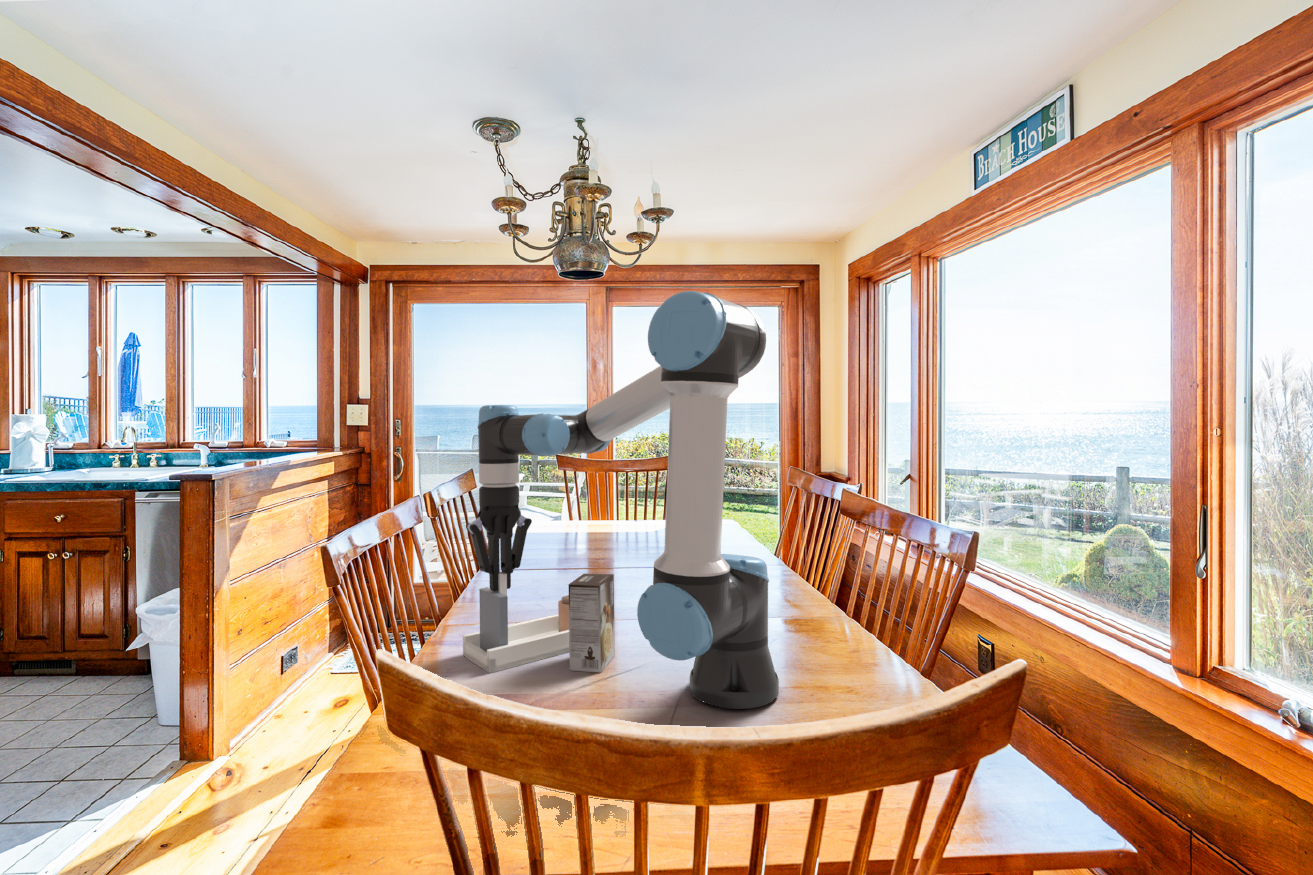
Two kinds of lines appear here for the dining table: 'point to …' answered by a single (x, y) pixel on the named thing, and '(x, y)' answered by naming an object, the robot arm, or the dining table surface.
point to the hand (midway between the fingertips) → (500, 606)
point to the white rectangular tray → (519, 645)
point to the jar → (563, 614)
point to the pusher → (493, 619)
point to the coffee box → (591, 622)
